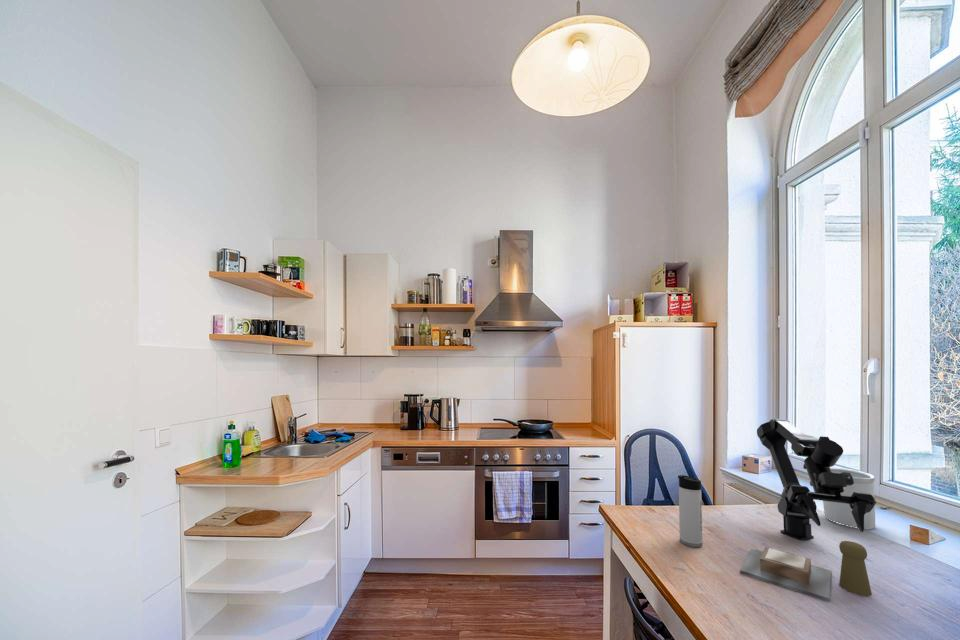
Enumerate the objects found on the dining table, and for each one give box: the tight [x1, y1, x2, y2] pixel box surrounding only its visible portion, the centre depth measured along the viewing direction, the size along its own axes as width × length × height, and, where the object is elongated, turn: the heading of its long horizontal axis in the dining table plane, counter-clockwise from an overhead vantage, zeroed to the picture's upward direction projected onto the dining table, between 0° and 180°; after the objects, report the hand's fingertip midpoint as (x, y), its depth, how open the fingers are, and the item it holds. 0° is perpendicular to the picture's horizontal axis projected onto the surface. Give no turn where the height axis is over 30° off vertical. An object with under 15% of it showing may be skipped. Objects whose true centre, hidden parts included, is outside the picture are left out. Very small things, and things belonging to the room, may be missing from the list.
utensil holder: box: [822, 466, 876, 530], centre depth 148 cm, size 15×15×18 cm
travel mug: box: [677, 474, 703, 548], centre depth 126 cm, size 6×7×20 cm
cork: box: [838, 540, 873, 597], centre depth 102 cm, size 6×6×11 cm
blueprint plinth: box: [739, 546, 832, 603], centre depth 109 cm, size 18×18×4 cm
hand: (840, 528), depth 109 cm, fingers open, 9 cm apart
